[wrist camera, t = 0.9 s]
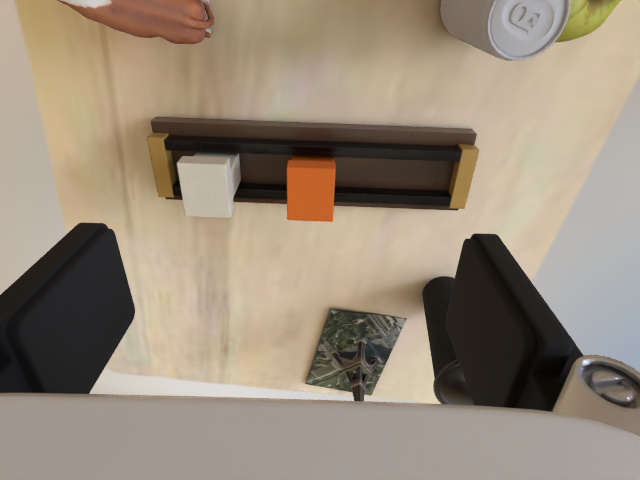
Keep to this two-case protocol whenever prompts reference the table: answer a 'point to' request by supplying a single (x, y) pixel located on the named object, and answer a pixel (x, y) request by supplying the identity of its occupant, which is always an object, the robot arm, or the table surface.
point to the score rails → (459, 154)
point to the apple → (585, 17)
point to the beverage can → (506, 25)
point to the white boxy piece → (209, 183)
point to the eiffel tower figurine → (354, 351)
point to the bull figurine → (151, 17)
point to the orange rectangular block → (310, 188)
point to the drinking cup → (443, 345)
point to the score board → (347, 169)
